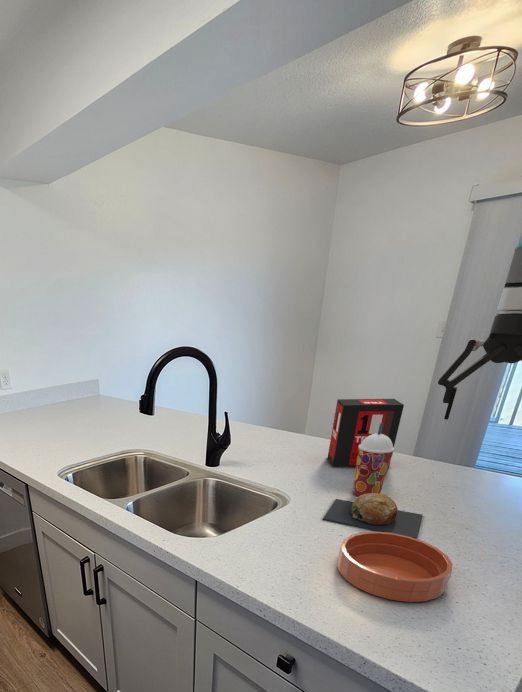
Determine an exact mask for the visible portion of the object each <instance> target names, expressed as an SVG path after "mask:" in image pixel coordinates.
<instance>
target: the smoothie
mask: <svg viewBox="0 0 522 692" xmlns="http://www.w3.org/2000/svg"><path fill="white" fill-rule="evenodd" d="M382 426H383V424H382V423H380V426H379V431H378V433H376V434H372V435H369V436H368V437H366V438H365V439H364V440H363V441H362V442H361V444H359V449H358V456H357V464H356V468H355V472H354V479H353V487H352V489H353V490H354V494H355V495H356V496H357V497H358V496H360V495H362V494H368V493H377V494H378V493H380V494H381V492H382V490H383V485H384V483H385V479H386V476H387V473H388V470H389V468H390V465H391V462H392V457H393V455H394V451H395V446H394V447H393V444H392V441H391V440H390V438H389V437H387V436H386V435H384V434H381V430H382ZM389 464H390V465H389ZM388 467H389V468H388Z"/></svg>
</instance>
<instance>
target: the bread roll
mask: <svg viewBox="0 0 522 692" xmlns="http://www.w3.org/2000/svg"><path fill="white" fill-rule="evenodd" d="M352 502H353V504H352V512H351V513H352V515H353V518H356V519H358V520H361V521H363V522H367V523H369V524H372V525H387V524H390V523H391V522H392V521H394V519H395V518H396V516H397V512H398V510H399V509H398V505H397V504H396V502H395V501H394V500H393V499H392V497H390V496H389V495H386V494H384V493H381V492H380V493H378V494H377V493H368V494H362V495H360V496H358V495H357V497H356V498H355V499H354V500H353V501H352Z"/></svg>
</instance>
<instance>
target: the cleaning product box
mask: <svg viewBox="0 0 522 692" xmlns="http://www.w3.org/2000/svg"><path fill="white" fill-rule="evenodd" d="M404 407H405V404H403V403H402V402H400V401H399V400H397V399H395V398H338V399H337V401H336V406H335V413H334V416H333V417H334V418H333V424H332V430H331V437H330V441H329V447H328V451H327V452H328V453H327V460H328V463H330V465H331V467H332V468H355V469H356V464H357V456H358V449H359V444H361V442H362V441H363V440H364V439H365V438H366V437H368V436H369V435H372V434H376V433H378V431H379V426H380V423H382V424H383V426H382V430H381V434H384V435H386V436H387V437H389V438H390V440H391V441H392V444H393V447H394V448H395V445H396V440H397V437H398V436H397V435H398V432H399V427H400V423H401V420H402V415H403V411H404ZM390 465H391V463H390V464H389V467H388V469H389V468H390Z"/></svg>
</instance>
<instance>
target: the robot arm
mask: <svg viewBox="0 0 522 692" xmlns="http://www.w3.org/2000/svg"><path fill="white" fill-rule="evenodd" d="M496 310H497V311H498V312H499V313H497V314H496V315H494V318H493V322H492V325H491V327H490V331H489V335H488V336H487V338H486V340H482V339H481V340H480V339H475V338H474V337H472V338H470V339H469V340H468V342H467V344H466V346H465V348H464V350H463V351H462V352H461V354H459V356H458V357H457V358H456V359H455V360H454V362H453V363H452V364H451V365H450V366H449V367H448V368H447V369H446V371H445V372H444V373H443V374H442V375H441V377H439V379H438V380H437V385H439V386H442V387H444V388H445V391H444V395H443V398H442V403H443V404H447V407H446V410H445V413H444V414H445V415H444V417H443V420H448V421H449V418H450V416H451V411H452V408H453V404H454V400H455V397H456V394H457V390H458V386H457V385H458V384H460V383H461V382H463V380H465V379H466V378H468V377H469V376H471V375H472V374H473V373H474V372H476V371H477V370H479V369H480V368H481V367H483V366H484V365H486V364H488V363H489V362H492V363H494V364H502V363H503V364H504V363H507V364H516V363H518V362H522V232H521V233H520V236H519V239H518V241H517V245H516V246H515V247H514V253H513V255H512V259H511V262H510V266H509V270H508V271H507V276H506V280H505V284H504V286H503V289H502V293H501V295H500V299H499V301H498V305H497V309H496ZM480 347H483V350H484V351H485V353H484V354H483V356H481V357H480V358H479V359H477V360H475V362H474V363H472V364H471V365H469V366H468V367H467V368H465V369H464V370H463V371H461V372H460V373H459V374H458V375H456V376H455V377H454V378H452V379H451V380H449V379H450V377H451V376H453V374H454V373H455V372H456V370H458V368H459V367H460V366H461V365H462V364H463V363H464V362H465V361H466V359H467V358H468V357H469V356H470V355H471V353H472V352H476V351H477V350H479V348H480Z"/></svg>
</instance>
